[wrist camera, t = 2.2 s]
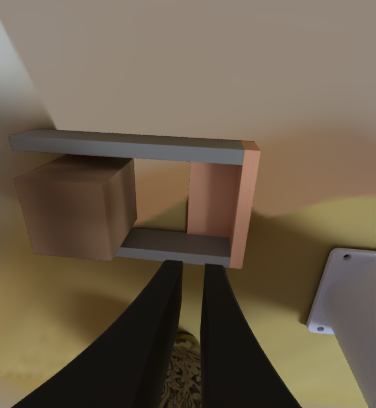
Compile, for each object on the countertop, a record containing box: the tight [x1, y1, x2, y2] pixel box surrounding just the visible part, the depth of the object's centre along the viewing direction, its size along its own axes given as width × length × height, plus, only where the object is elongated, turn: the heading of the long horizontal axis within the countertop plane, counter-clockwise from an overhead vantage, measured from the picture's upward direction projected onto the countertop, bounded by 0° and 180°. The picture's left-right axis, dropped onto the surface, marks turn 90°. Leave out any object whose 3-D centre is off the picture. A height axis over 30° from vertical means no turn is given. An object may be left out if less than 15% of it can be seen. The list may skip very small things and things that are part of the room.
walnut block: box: [14, 154, 137, 261], centre depth 15 cm, size 4×4×5 cm
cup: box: [159, 333, 201, 408], centre depth 20 cm, size 8×7×8 cm
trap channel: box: [8, 129, 261, 269], centre depth 16 cm, size 14×8×2 cm, turn 88°
